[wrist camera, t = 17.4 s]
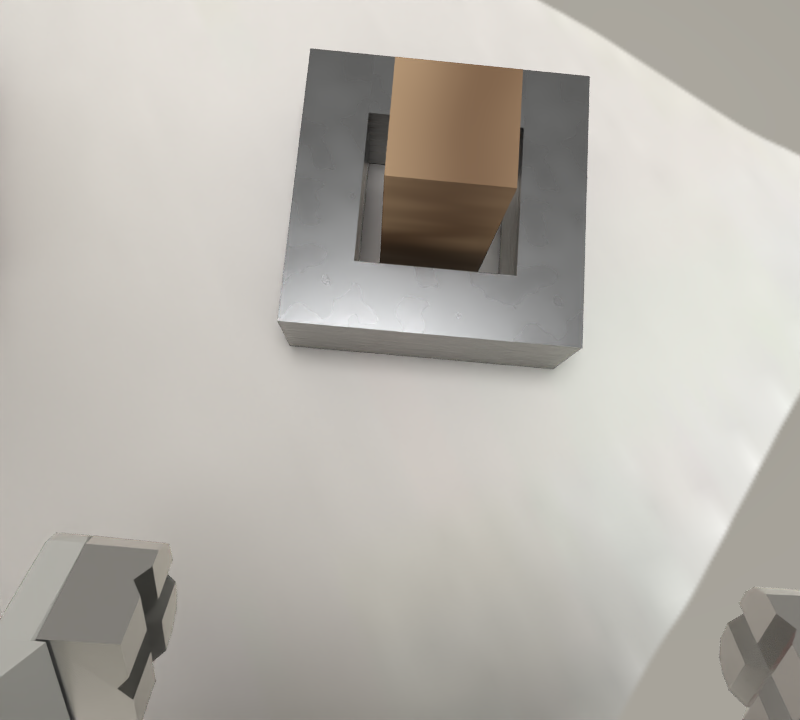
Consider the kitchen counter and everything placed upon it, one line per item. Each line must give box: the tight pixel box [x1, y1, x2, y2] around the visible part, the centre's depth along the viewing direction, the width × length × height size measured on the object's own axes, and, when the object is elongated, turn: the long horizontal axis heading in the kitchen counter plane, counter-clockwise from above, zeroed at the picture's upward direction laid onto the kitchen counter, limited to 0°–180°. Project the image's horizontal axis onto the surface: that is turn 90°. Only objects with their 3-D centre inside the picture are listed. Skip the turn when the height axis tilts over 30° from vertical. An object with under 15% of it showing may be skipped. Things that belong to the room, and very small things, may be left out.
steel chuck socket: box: [278, 49, 590, 369], centre depth 28 cm, size 11×11×4 cm
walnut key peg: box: [380, 57, 523, 272], centre depth 25 cm, size 4×4×9 cm
